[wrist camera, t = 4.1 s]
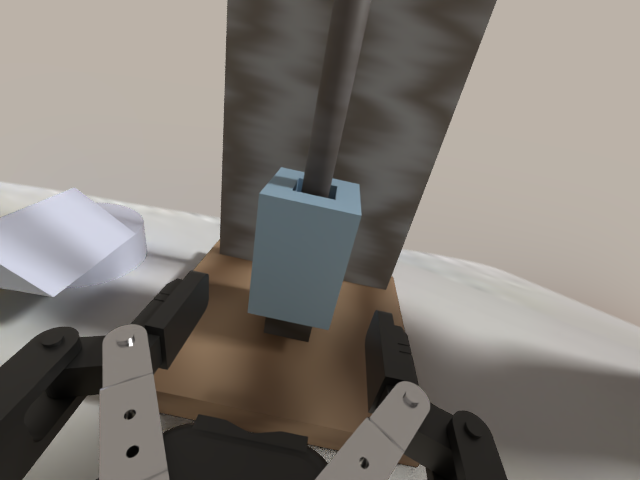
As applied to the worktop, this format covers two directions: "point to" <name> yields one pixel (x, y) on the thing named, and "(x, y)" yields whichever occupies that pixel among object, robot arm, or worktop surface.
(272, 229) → the sleeve
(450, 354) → the worktop surface
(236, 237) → the grey rod stand
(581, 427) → the worktop surface
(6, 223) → the wedge on round base
